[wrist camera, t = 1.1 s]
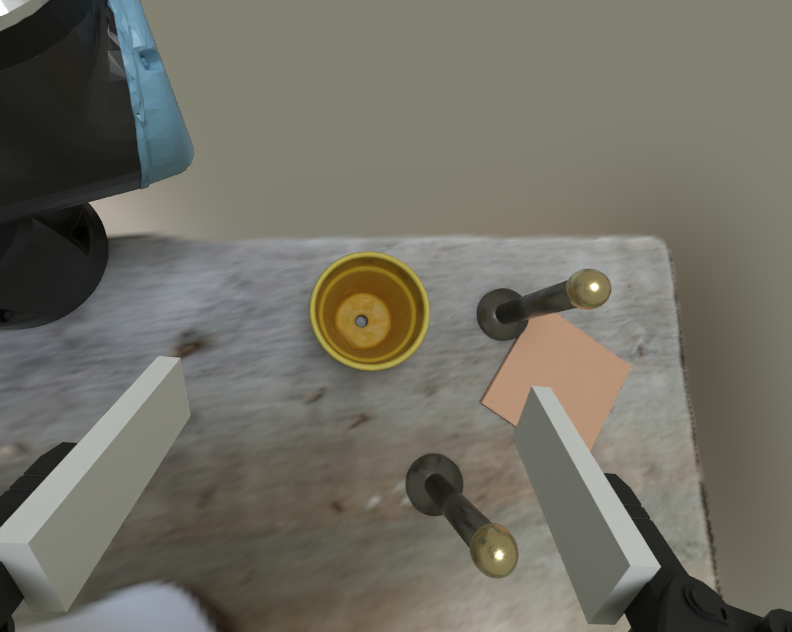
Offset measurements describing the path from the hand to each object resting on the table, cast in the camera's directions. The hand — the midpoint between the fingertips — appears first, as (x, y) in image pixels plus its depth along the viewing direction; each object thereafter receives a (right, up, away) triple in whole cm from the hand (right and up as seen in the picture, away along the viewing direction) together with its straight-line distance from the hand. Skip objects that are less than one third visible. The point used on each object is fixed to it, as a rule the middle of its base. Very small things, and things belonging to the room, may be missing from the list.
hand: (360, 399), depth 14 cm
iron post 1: (+5, -15, +26) cm, 30 cm away
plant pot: (-2, +2, +27) cm, 27 cm away
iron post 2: (+14, +3, +30) cm, 33 cm away
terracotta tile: (+20, -5, +30) cm, 36 cm away
